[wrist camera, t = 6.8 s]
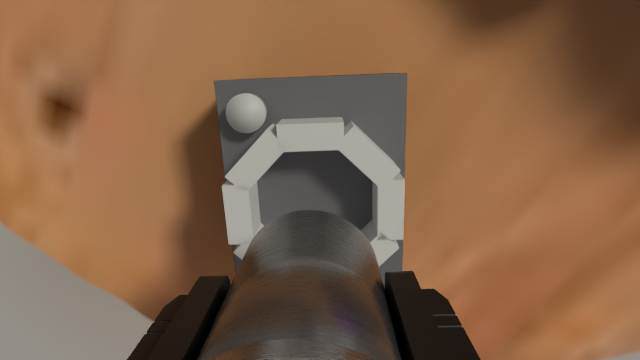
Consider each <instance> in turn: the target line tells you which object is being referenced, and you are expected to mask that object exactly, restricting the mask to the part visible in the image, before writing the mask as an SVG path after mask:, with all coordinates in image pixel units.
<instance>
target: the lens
mask: <svg viewBox="0 0 640 360" xmlns="http://www.w3.org/2000/svg"><path fill="white" fill-rule="evenodd" d="M197 360H405V359H404V355H403V352H402V348H401V345H400V341H399V338H398V334H397V330H396V327H395V323H394V320H393V316H392V313H391V309H390V305H389V302H388V298H387V295H386V291H385V287H384V284H383V280H382V277H381V273H380V270H379V266H378V262H377V259H376V255H375V253H374V250H373V248H372V246H371V244H370V242H369V240H368V239H367V238H366V236H365V235H364V234H363V233H362V232H361V231H360V230H359V229H358V228H357V227H356V226H355V225H353V224H352V223H351V222H349V221H348V220H346V219H344V218H342V217H340V216H338V215H335V214H332V213H329V212H325V211H319V210H301V211H295V212H290V213H287V214H284V215H281V216H279V217H277V218H275V219H273V220H272V221H270V222H269V223H267V224H266V225H265V226H264V227H263V228H261V229H260V230H259V231H258V233H257V234H256V235H255V236H254V238H253V239H252V241H251V243H250V244H249V246H248V249H247V251H246V253H245V255H244V257H243V259H242V262H241V264H240V266H239V268H238V270H237V273H236V275H235V277H234V279H233V281H232V284H231V286H230V288H229V290H228V292H227V295H226V297H225V299H224V301H223V303H222V305H221V308H220V310H219V312H218V314H217V316H216V319H215V321H214V323H213V325H212V327H211V330H210V332H209V334H208V336H207V338H206V340H205V343H204V345H203V347H202V349H201V351H200V354H199V356H198V358H197Z"/></svg>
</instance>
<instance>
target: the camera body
mask: <svg viewBox="0 0 640 360" xmlns="http://www.w3.org/2000/svg"><path fill="white" fill-rule="evenodd" d="M214 86H215V94H216V103H217V112H218V121H219V129H220V138H221V147H222V156H223V164H224V173H225V183H224V184H223V185H222V193H223V201H224V210H225V218H226V227H227V235H228V244H229V245H233V253H234V260H235V269H236V273H237V270H238V268H239V266H240V264H241V262H242V259H243V257H244V255H245V253H246V251H247V249H248V246H249V244H250V243H251V241H252V239H253V238H254V236H255V235H256V234H257V233H258V231H259V230H260V229H261V228H263V227H264V226H265V225H266V224H267V223H269V222H270V221H272V220H273V219H275V218H277V217H279V216H281V215H284V214H287V213H290V212H295V211H301V210H319V211H325V212H329V213H332V214H335V215H338V216H340V217H342V218H344V219H346V220H348V221H349V222H351V223H352V224H353V225H355V226H356V227H357V228H358V229H359V230H360V231H361V232H362V233H363V234H364V235H365V236H366V238H367V239H368V240H369V242H370V244H371V246H372V248H373V250H374V253H375V255H376V259H377V262H378V266H379V270H380V273H381V277H382V280H383V284H384V287H385V273H386V272H394V271H402V256H403V233H404V193H405V179H404V176H405V136H406V96H407V73H384V74H359V75H335V76H310V77H286V78H261V79H237V80H221V81H214Z"/></svg>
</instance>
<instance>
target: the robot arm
mask: <svg viewBox="0 0 640 360" xmlns="http://www.w3.org/2000/svg"><path fill="white" fill-rule="evenodd" d="M229 288H230V280H229V278H228V276H201V277H199V278H198V280H197V281H196V283H195V285H194V286H193V288H192V289H191V291H190V292H189V294H188V295H179V296H178V297H177V298H175V299H174V300H173V301H171V302H170V303H169V304H167V305H166V306H165V307H164V308H163V309H162V311H161V312H160V314H159V315H158V316H157V318H156V319H155V323H153V324H152V325H151V327H150V328H149V329H148V331H147V334H145V335H144V337H143V338H142V339H141V341H140V342H139V343H138V345H137V346H136V348H135V349H134V351H133V352H132V353H131V355H130V356H129V358H128V359H127V360H197V358H198V356H199V354H200V351H201V349H202V347H203V345H204V343H205V340H206V338H207V336H208V334H209V332H210V330H211V327H212V325H213V323H214V321H215V319H216V316H217V314H218V312H219V310H220V308H221V305H222V303H223V301H224V299H225V297H226V295H227V292H228V290H229ZM385 291H386V295H387V298H388V302H389V305H390V309H391V313H392V316H393V320H394V323H395V327H396V330H397V334H398V338H399V341H400V345H401V348H402V352H403V355H404V359H405V360H480V358H479V356H478V354H477V352H476V350H475V349H474V347H473V345H472V343H471V341H470V339H469V338H468V336H467V334H466V332H465V330H464V328H462V326H461V323H460V321H459V319H458V317H457V316H455V312H454V310H453V308H452V306H451V305H450V303H449V301H448V300H447V299H446V298H445V297H444V296H442V295H441V294H440V293H439V292H437V291H436V290H435V289H421V288H420V286H419V283H418V281H417V279H416V277H415V274H414V272H413V271H394V272H386V273H385Z"/></svg>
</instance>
